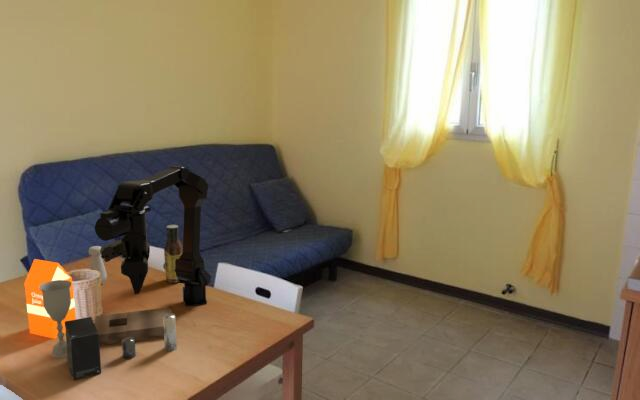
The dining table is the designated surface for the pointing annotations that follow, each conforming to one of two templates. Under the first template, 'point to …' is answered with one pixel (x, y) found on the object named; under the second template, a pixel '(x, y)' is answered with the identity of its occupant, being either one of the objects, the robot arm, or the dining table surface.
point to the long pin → (169, 332)
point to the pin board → (131, 325)
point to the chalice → (57, 309)
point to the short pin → (128, 347)
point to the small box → (82, 348)
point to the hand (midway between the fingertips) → (138, 287)
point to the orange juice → (35, 308)
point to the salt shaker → (97, 262)
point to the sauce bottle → (172, 252)
